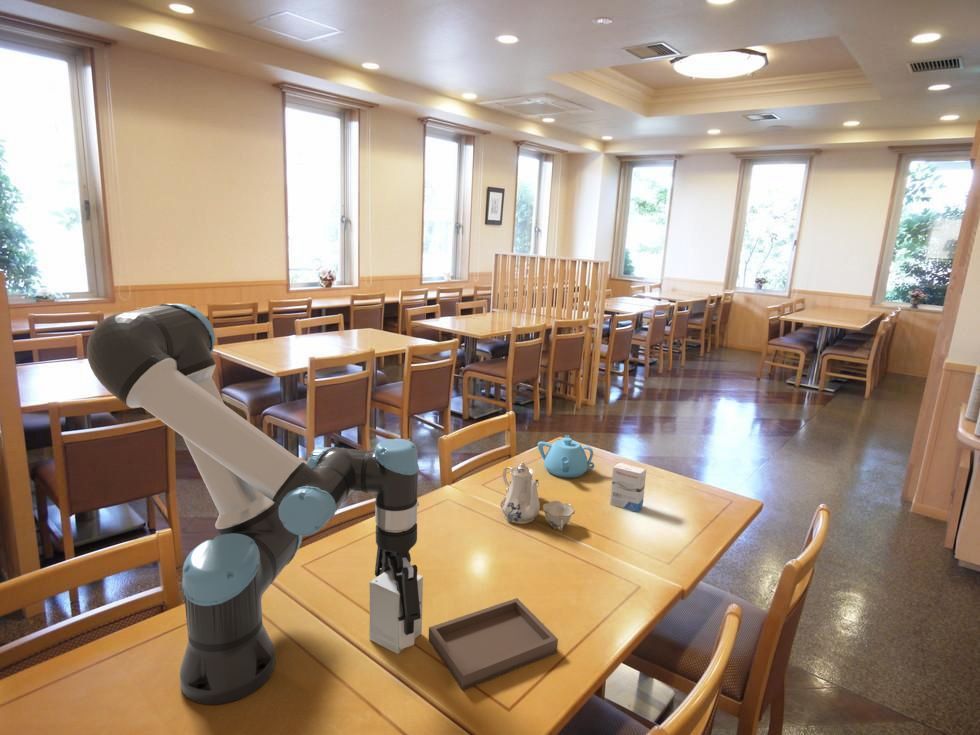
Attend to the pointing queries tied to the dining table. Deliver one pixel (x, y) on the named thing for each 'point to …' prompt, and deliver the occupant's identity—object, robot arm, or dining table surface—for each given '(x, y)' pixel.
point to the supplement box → (389, 611)
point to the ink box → (628, 487)
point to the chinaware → (530, 500)
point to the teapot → (566, 458)
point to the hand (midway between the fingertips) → (396, 629)
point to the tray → (491, 642)
